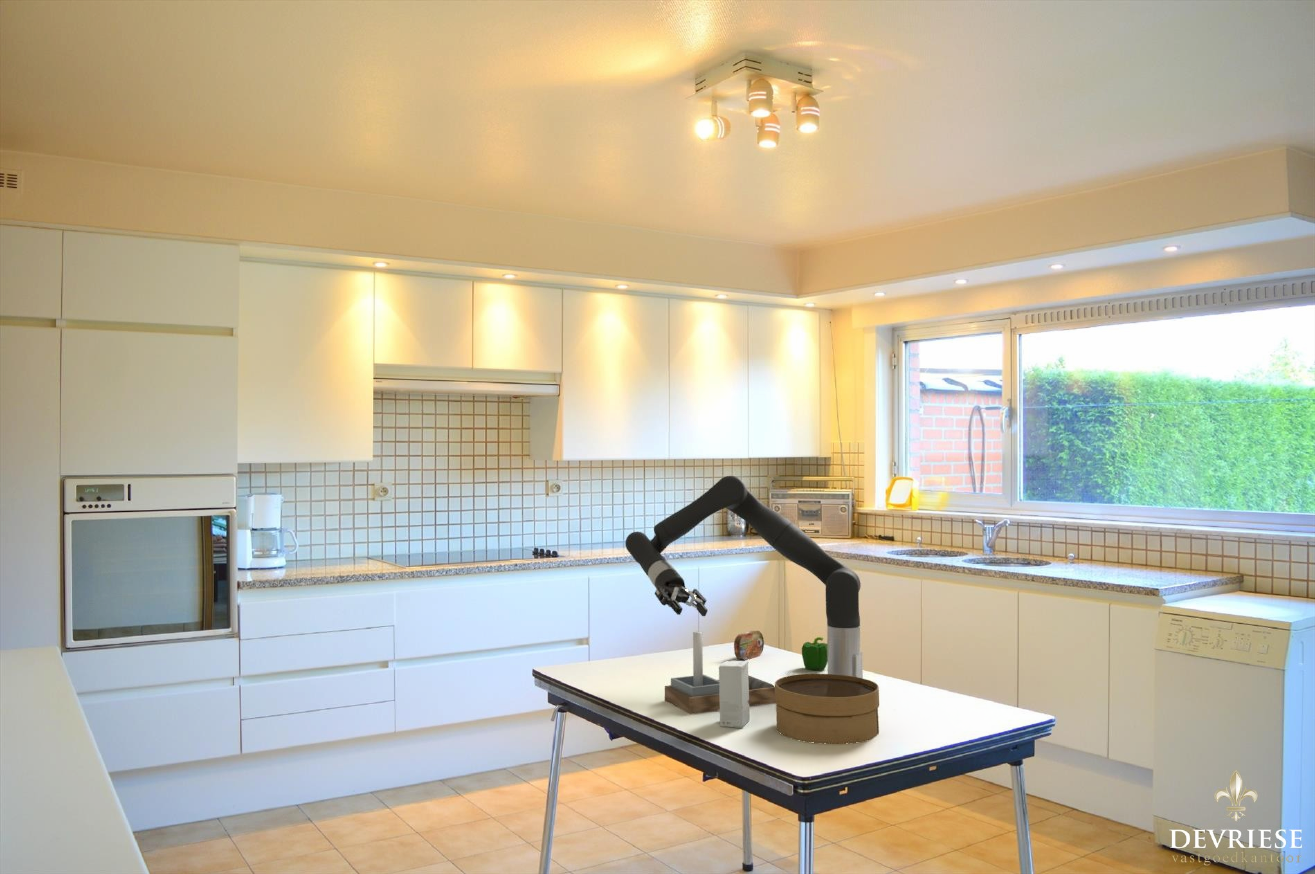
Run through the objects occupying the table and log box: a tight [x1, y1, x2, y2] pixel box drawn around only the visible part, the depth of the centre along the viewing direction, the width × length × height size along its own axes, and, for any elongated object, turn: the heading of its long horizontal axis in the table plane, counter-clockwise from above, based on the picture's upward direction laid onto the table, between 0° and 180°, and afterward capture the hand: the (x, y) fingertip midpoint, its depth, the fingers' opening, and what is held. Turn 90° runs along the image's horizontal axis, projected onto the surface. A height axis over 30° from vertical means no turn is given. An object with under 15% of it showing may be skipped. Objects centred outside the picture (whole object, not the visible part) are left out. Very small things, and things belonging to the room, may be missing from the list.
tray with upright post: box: [670, 631, 719, 697], centre depth 260 cm, size 10×12×18 cm
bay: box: [664, 674, 776, 715], centre depth 263 cm, size 26×15×5 cm, turn 116°
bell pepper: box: [801, 636, 828, 671], centre depth 303 cm, size 8×8×10 cm
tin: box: [733, 630, 765, 661], centre depth 321 cm, size 15×3×8 cm, turn 143°
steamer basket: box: [774, 673, 880, 745], centre depth 236 cm, size 25×25×11 cm
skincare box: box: [718, 660, 750, 729], centre depth 242 cm, size 8×6×15 cm
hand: (693, 612), depth 266 cm, fingers open, 8 cm apart
